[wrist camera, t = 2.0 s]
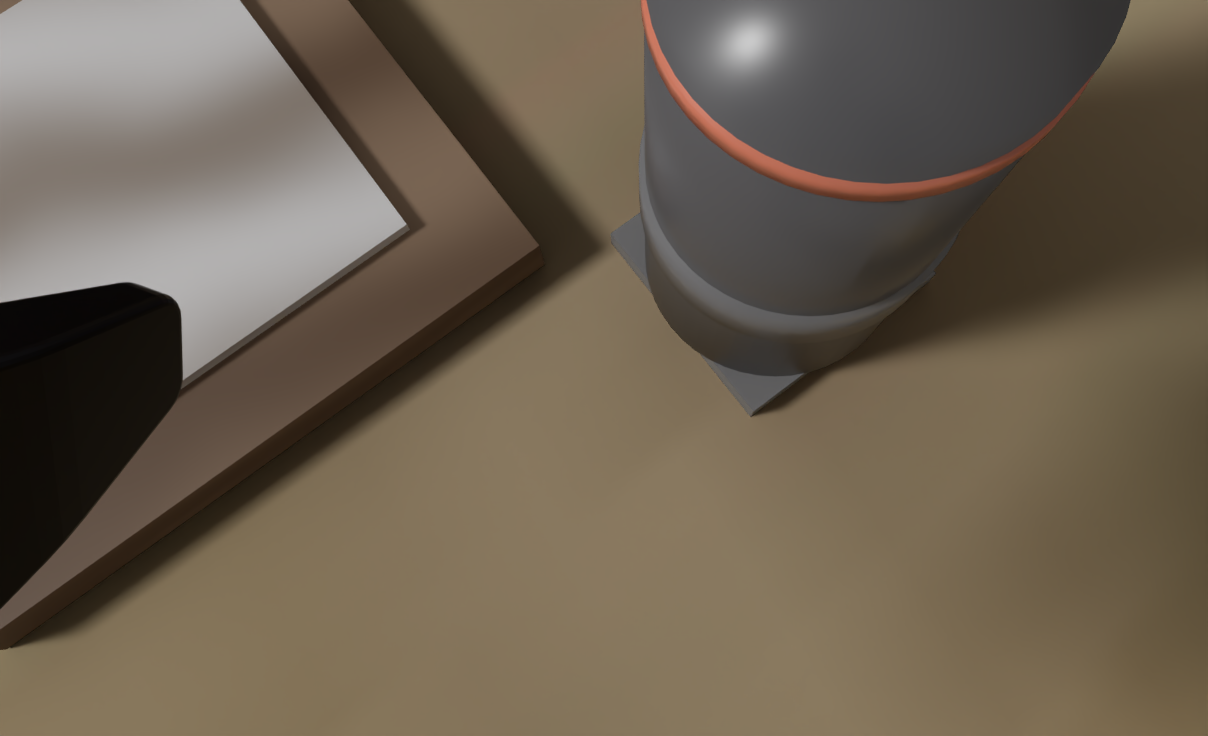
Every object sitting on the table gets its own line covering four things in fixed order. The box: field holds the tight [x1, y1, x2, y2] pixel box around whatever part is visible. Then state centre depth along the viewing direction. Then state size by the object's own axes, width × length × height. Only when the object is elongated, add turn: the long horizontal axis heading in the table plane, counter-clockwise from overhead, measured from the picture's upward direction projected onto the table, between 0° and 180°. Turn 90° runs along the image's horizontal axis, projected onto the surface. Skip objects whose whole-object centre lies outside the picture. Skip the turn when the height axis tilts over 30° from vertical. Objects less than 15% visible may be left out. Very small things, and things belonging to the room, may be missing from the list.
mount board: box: [0, 0, 545, 650], centre depth 22 cm, size 14×14×2 cm
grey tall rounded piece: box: [611, 0, 1130, 417], centre depth 16 cm, size 6×6×11 cm
